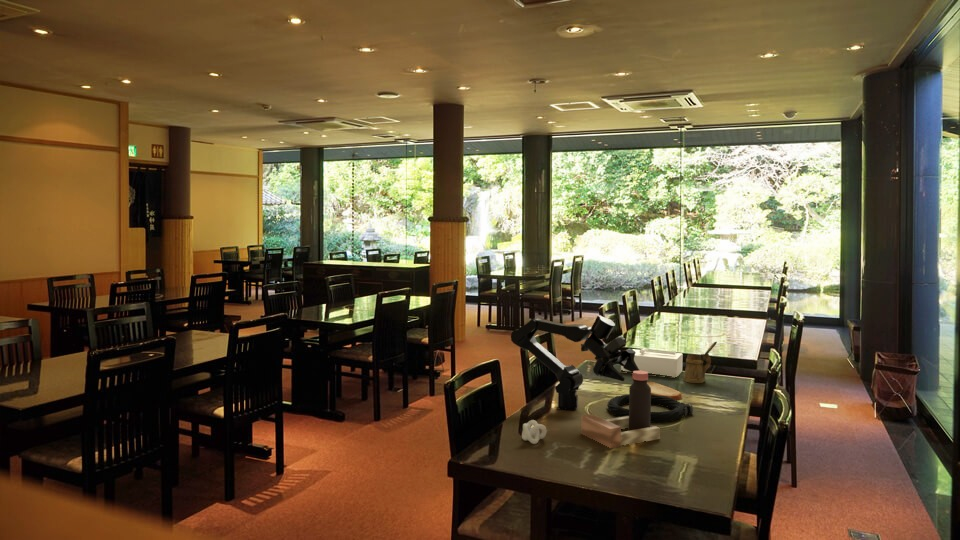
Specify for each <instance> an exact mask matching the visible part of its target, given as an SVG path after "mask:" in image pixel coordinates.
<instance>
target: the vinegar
mask: <svg viewBox="0 0 960 540" xmlns="http://www.w3.org/2000/svg"><path fill="white" fill-rule="evenodd" d="M632 381H633V383H631V384H630V385H629V393H628V394H629V404H628V409H629V429H628V431H631V430H637V429H642V428H648V427H651V422H650V420H651V412H652V411H651V408H652V404H651V388H650V386H649V385H648V384H647V382H649V375H648V372H646V371H633V373H632Z"/></svg>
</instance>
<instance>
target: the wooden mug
mask: <svg viewBox="0 0 960 540" xmlns="http://www.w3.org/2000/svg"><path fill="white" fill-rule="evenodd" d="M717 343H718V341H714V342H713V343H712V344H711V345H710V346H709V348H708V349H707V350H706V351H705V353H701V354H694V353H692V354H691V353H690V354H687V357H686V359H685V363H686V364H685V368H684V375H683V378H682V380H683V381H684V382H686V383H690V384H703V383H705V382H706V373H707V370H708V369H709V368H710V366H711V363H712V359H711V356H710V354H709V353H710V352H711V351H712V350H713V349H714V348H715V346H716V345H717ZM704 361H705V362H706V364H705V365H703V364H704Z"/></svg>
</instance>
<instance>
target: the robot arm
mask: <svg viewBox="0 0 960 540" xmlns="http://www.w3.org/2000/svg"><path fill="white" fill-rule="evenodd" d="M615 326H616V323H615V322H614V321H613V320H612V319H610V318H607V317H605V316H602V315H601V314H600V315H597V316H596V318H595V321H594V322H593V324H592V326H587V325H586V324H582V323H581V324H580V323H579V324H565V323H561V322H556V321H550V320H545V319H541V318H540V317H537V318H532V319H530V320H529V321H528V322H527V323H525V324H524V325H522V326H520V327H519V328H518V329H514V330H512V331H511V334H510V340H511V343H513V344H514V345H515V346H517V347H519V348H521V349H524V350H527V351H529V353H531V355H533V356H534V357H535V358H536V359H538V360H539V361H540V362H541V363H542V364H543V365H544V366H545V367H547V368H548V369H549V370H550V371H551V372H552V373H553V374H555V376H556V379H557V381H558V382H559V383H558V384H557V385H556V386H554V388H555V392H556V394H557V393H558V394H557V397H558V398H557V400H558V401H557V402H558V403H557V405H558V406H557V407H556V409H557V410H564V411H565V410H566V411H575V410H576V409H577V408H578V407H579V396H578V394H577V391H579V389H580V387H581V385H583V382H584V378H583V377H584V376H583V374H582V373H581V370H579V369H578V368H576V367H575V366H574V365H573V364H569V365H565V364H564V363H563V362H561V361H560V360H559V359H558V358H556V356H554V355H553V354H552V353H551V352H549V350H547V349H546V348H545V346H543V345H541V344H540V343H539V342H538V341H537V338H536V336H535V334H536V333H537V332H538V331H541V332H545V333H549V334H554V335H559V336H562V337H564V338H565V339H567V340H569V341H571V342H574V343H579V342H582V341H584V342H583V343H581V344H580V347H581V348H580V351H581V352H588V351H589V352H591V354H593V355H594V360H596V361H595V363H594V366H593V367H592V372H593V374H595V376H597V377H598V376H600V377H605V378H610V379H613V380H615V381H616V380H617V381H621V382H624V381H625V380H626V379H625V377H624V376H623V375H622V374H621V373H620V372H619V371H618V370H617V369H616V368H615V365H618V364H619V365H620V367H621V366H623V368H624V369H626V370H629V371H631V372H633V371H640V370H639V369H638V367H637V365H636V363H635V361H634V357H635V353H636V352H635V351H634V350H632V349H633V348H628V349H625V350H622V352H621V349H622V348H624V347H626V345H627V339H626V338H624V336H622V335H621V336H620V335H619V336H617V337H616V338H614V339H612V340H611V341H610V342H608V343H605V341H604V339H608V338H609V336H610V334H611V333H612V331H613V330H614V328H615ZM620 353H621V354H620ZM619 355H620V356H619Z"/></svg>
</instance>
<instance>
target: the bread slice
mask: <svg viewBox="0 0 960 540" xmlns="http://www.w3.org/2000/svg"><path fill="white" fill-rule="evenodd" d="M647 384H648V385H649V386H650V388H651V395H657V396H665V397H668V398H672V399H674V400H676V401H681V400H683V396H682V393H681V392H680V391H679V390H676V389H674V388H672V387H669V386H666V385H663V384H660V383H657V382H654V381H647Z"/></svg>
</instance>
